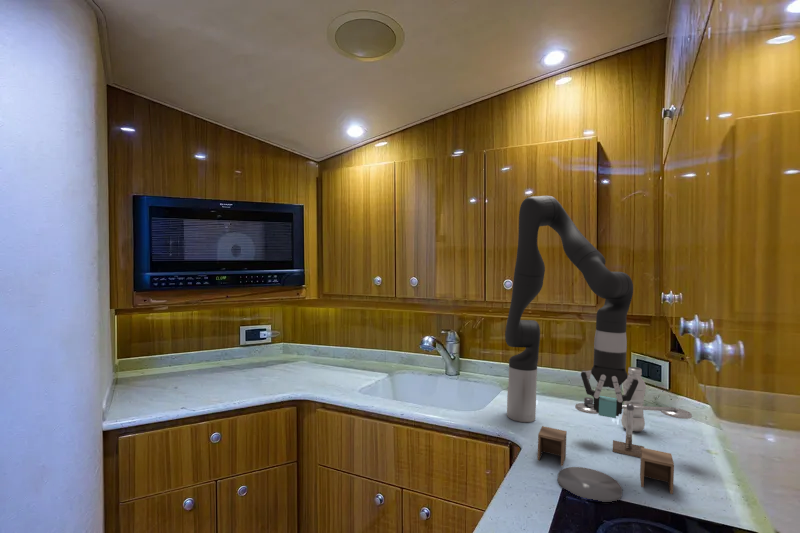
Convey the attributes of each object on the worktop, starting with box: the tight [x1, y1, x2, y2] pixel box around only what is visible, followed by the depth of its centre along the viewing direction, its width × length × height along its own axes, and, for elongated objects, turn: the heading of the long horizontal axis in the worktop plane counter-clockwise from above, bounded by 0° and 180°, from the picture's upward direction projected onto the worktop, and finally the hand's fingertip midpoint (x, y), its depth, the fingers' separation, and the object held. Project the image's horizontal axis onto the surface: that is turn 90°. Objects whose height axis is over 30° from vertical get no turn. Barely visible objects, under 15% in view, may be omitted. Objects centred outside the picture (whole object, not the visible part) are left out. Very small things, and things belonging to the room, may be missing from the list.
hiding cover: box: [536, 425, 567, 467], centre depth 113 cm, size 6×6×7 cm
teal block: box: [598, 395, 617, 419], centre depth 109 cm, size 4×4×4 cm
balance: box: [574, 397, 692, 459], centre depth 118 cm, size 29×7×14 cm, turn 62°
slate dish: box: [557, 466, 623, 503], centre depth 99 cm, size 14×14×1 cm
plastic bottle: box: [620, 366, 647, 433], centre depth 133 cm, size 6×7×20 cm
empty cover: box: [639, 447, 675, 495], centre depth 101 cm, size 6×6×7 cm
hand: (607, 413), depth 109 cm, fingers closed on teal block, 4 cm apart
